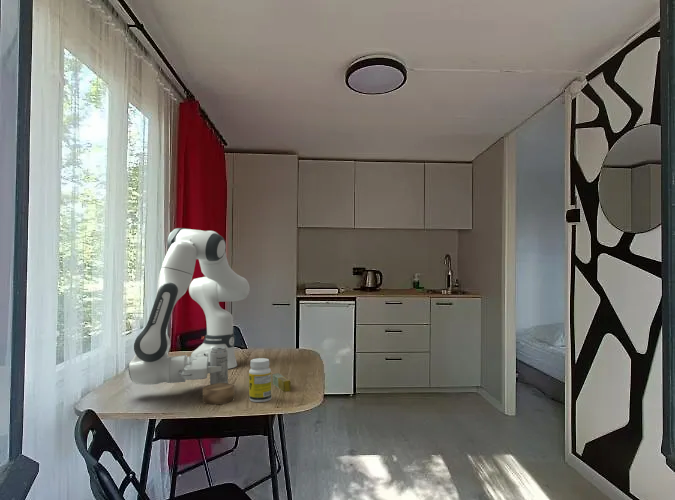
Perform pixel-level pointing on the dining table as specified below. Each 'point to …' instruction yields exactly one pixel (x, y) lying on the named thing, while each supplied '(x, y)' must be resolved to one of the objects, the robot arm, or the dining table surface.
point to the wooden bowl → (218, 393)
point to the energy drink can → (219, 359)
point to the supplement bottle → (260, 380)
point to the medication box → (281, 382)
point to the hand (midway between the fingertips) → (221, 366)
